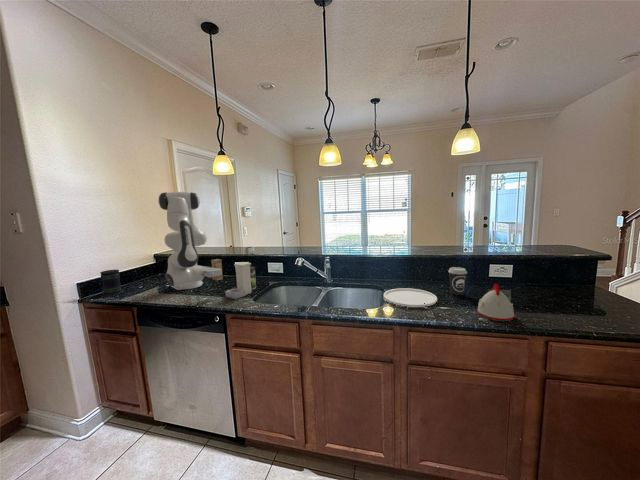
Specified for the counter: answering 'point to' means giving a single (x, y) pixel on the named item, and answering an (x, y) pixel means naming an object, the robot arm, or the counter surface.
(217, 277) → the tan rectangular block
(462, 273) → the coffee cup
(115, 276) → the storage jar
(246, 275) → the boot
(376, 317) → the counter surface
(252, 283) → the coffee can
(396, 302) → the plate
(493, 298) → the kitchen timer
